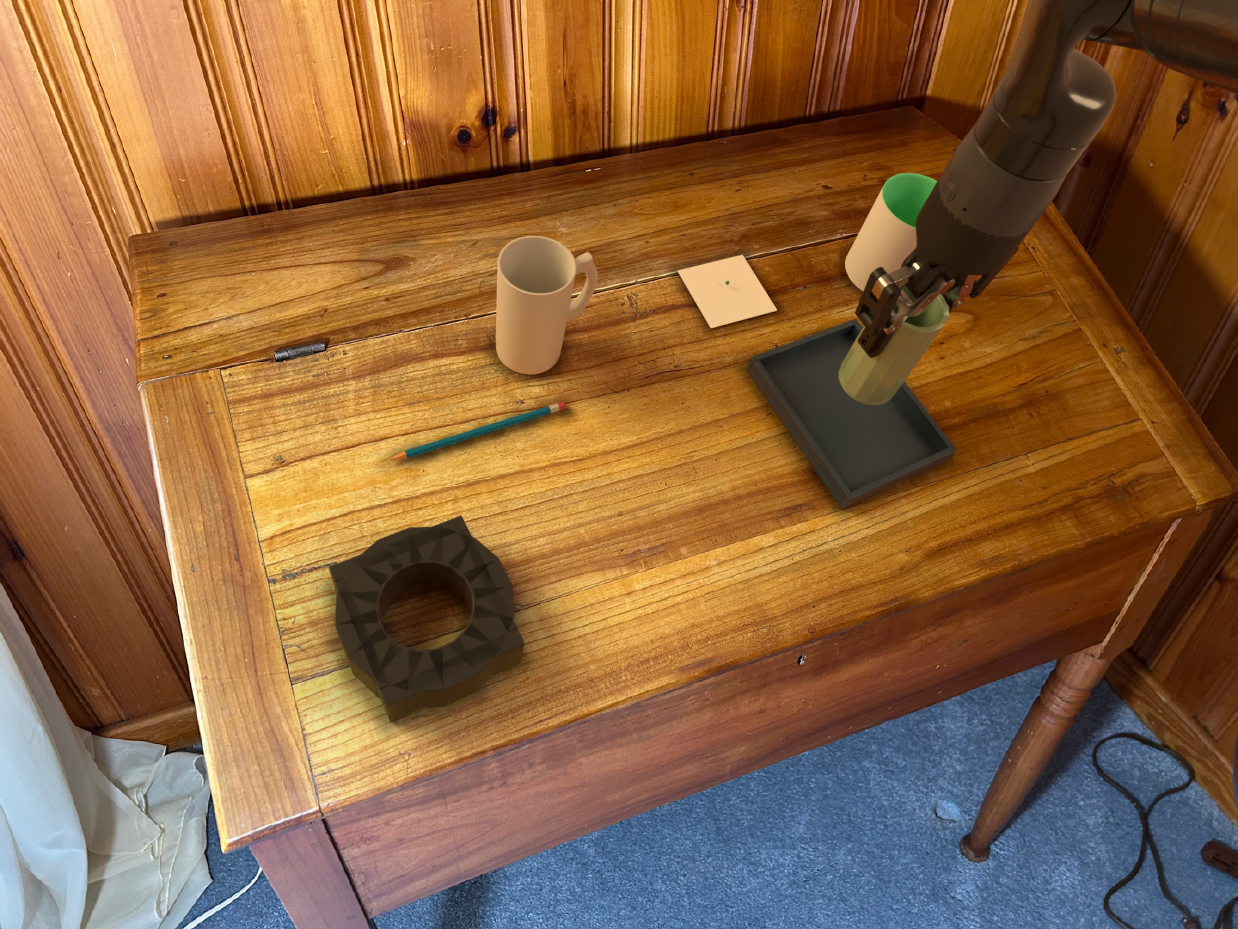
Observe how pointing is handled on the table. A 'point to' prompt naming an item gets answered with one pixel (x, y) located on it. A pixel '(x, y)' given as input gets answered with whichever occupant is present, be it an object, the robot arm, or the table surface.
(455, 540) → the dark brown carved ring
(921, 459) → the tray
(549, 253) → the mug
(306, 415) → the table surface
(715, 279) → the coaster
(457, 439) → the pencil
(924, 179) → the mug
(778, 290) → the table surface
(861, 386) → the cup
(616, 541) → the table surface
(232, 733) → the table surface
